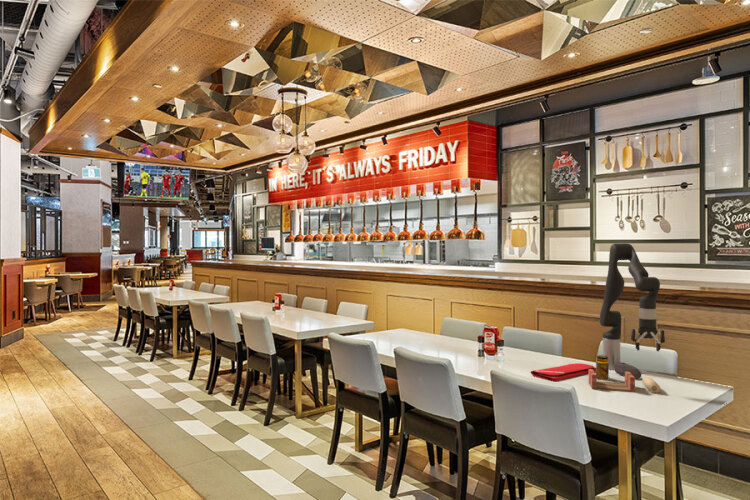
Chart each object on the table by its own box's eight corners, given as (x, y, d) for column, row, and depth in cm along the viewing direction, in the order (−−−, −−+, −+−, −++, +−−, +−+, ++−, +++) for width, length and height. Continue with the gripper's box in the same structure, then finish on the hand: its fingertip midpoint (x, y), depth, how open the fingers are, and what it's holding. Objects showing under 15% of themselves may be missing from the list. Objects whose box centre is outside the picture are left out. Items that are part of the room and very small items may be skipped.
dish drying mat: (600, 372, 270) (600, 365, 270) (554, 383, 248) (554, 376, 248) (575, 366, 283) (575, 360, 283) (529, 376, 261) (529, 369, 261)
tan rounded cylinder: (641, 385, 241) (642, 376, 241) (652, 387, 240) (653, 377, 239) (648, 392, 229) (648, 382, 229) (660, 394, 228) (660, 383, 228)
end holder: (588, 382, 247) (588, 369, 247) (629, 385, 241) (629, 371, 241) (592, 389, 235) (592, 374, 235) (635, 392, 230) (634, 377, 230)
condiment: (608, 381, 250) (608, 358, 250) (591, 378, 254) (591, 356, 254) (609, 377, 256) (609, 355, 256) (592, 375, 260) (592, 353, 260)
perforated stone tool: (644, 380, 252) (644, 367, 252) (637, 381, 250) (637, 367, 250) (620, 373, 266) (620, 360, 266) (613, 374, 264) (613, 361, 264)
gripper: (661, 317, 236) (662, 350, 236) (629, 316, 240) (630, 348, 240) (666, 319, 229) (666, 353, 229) (633, 318, 233) (633, 351, 233)
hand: (647, 350), depth 234 cm, fingers open, 8 cm apart
